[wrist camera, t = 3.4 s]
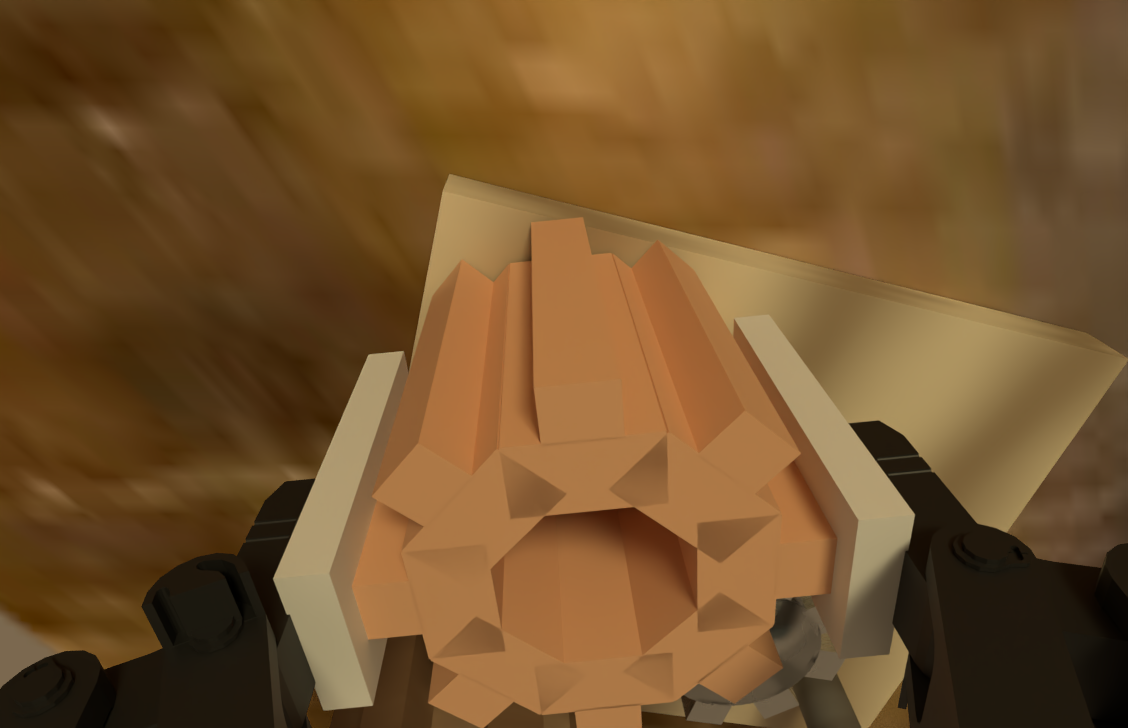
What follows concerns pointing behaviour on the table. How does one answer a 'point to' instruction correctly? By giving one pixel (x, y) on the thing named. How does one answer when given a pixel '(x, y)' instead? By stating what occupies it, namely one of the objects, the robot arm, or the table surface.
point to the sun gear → (800, 654)
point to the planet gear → (586, 493)
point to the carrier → (846, 378)
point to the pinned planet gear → (426, 698)
